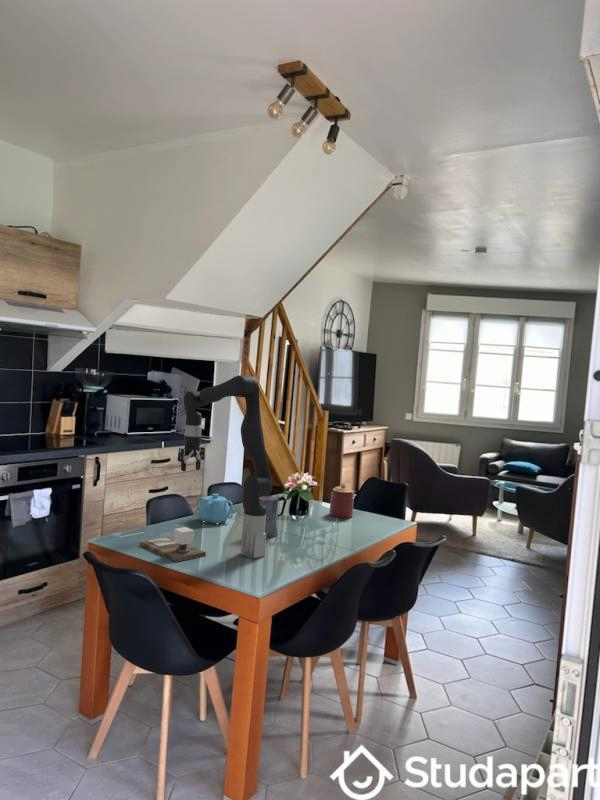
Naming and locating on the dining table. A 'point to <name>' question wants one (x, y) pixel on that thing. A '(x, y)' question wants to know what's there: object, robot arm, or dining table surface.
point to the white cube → (183, 535)
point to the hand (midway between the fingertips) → (190, 470)
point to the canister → (341, 502)
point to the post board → (172, 549)
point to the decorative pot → (214, 509)
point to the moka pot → (271, 513)
